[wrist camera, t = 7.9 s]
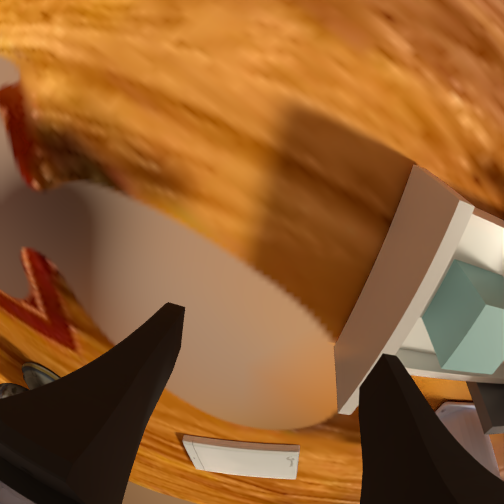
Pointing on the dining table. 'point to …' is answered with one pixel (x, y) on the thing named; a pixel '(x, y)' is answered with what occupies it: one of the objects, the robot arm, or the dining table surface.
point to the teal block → (468, 319)
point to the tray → (415, 284)
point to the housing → (488, 405)
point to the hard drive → (243, 457)
